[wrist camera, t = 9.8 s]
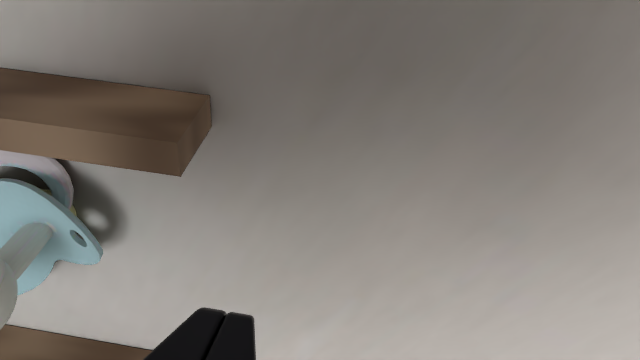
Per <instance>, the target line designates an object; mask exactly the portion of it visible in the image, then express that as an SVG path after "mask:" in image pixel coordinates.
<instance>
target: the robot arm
mask: <svg viewBox="0 0 640 360" xmlns="http://www.w3.org/2000/svg"><path fill="white" fill-rule="evenodd" d="M143 360H256V351H255V329H254V318H253V316H251V315H246V314H240V313H235V312H230V313H228V314H226V312H225V311H222V310H217V309H211V308H200V309H198V310H197V311H195V312H194V313H193V314H192V315H191V316H190V317H189V318H188V319H187V320H186V321H184V322H183V323H182V324H181V325H180V326H179V327H178V328H177V329H176V330H175V331H174V332H172V333H171V334H170V335H169V336H168V337H167V338H166V339H165V340H164V341H163V342H161V343H160V344H159V345H158V346H157V347H156V348H155V349H154V350H153V351H152V352H151V353H149V354H148V355H147V356H146V357H145V358H144V359H143Z"/></svg>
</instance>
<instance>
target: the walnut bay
mask: <svg viewBox="0 0 640 360" xmlns="http://www.w3.org/2000/svg"><path fill="white" fill-rule="evenodd" d="M211 127H212V125H211V109H210V95H203V94H195V93H188V92H180V91H172V90H165V89H157V88H149V87H142V86H134V85H127V84H119V83H111V82H104V81H96V80H88V79H81V78H73V77H65V76H58V75H50V74H42V73H35V72H27V71H20V70H12V69H4V68H0V150H2V151H9V152H16V153H23V154H30V155H36V156H43V157H50V158H57V159H64V160H71V161H77V162H84V163H91V164H98V165H105V166H112V167H119V168H125V169H132V170H139V171H146V172H153V173H160V174H167V175H173V176H180V177H181V175H182V174H183V172H184V170H185V169H186V167H187V165H188V164H189V162H190V161H191V159H192V157H193V156H194V154H195V153H196V151H197V149H198V148H199V146H200V145H201V143H202V141H203V140H204V138H205V136H206V135H207V133H208V132H209V130H210V128H211ZM151 352H152V351H151V350H145V349H139V348H134V347H128V346H123V345H117V344H111V343H106V342H100V341H94V340H89V339H83V338H78V337H72V336H66V335H61V334H55V333H49V332H44V331H38V330H32V329H27V328H21V327H16V326H10V325H4V326H3V327H2V329H1V330H0V360H143V359H144V358H145V357H146V356H147V355H148V354H149V353H151Z"/></svg>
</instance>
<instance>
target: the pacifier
mask: <svg viewBox="0 0 640 360" xmlns="http://www.w3.org/2000/svg"><path fill="white" fill-rule="evenodd" d="M0 166H14V167H18V168H22V169H26V170H28V171H30V172H32V173H34V174H36V175H37V176H39V177H40V178H41V179H42V180H44V181H45V183H46V184H47V185H48V187H49V188H50V190H51V191H50V190H45V189H39V188H37V187H36V186H34V185H31V184H29V183H27V182H24V181H21V180H17V179H10V178H1V179H0V330H1V329H2V327H3V326H4V325H5V324H6V322H7V321H8V319H9V318H10V316H11V314H12V312H13V310H14V307H15V304H16V300H17V295H20V294H23V293H25V292H27V291H29V290H32V289H34V288H35V287H36V286H38V285H39V284H41V283H42V282H43V281H44V280H45V279H46V278H47V276H48V275H49V273H50V272H51V270H52V268H53V266H54V263H55V261H57V260H64V261H68V262H72V263H77V264H84V265H92V264H96V263H98V262H99V261H100V259H101V257H102V254H103V249H102V247H101V246H100V244H99V243H98V241H97V240H96V238H95V237H94V236H93V234H92V233H91V232H90V231H89V230H88V228H87V227H86V226H85V225H84V224H83V223H82V222H81V221H80V220H79V219H78V218H77V217H76V216H77V215H76V210H75V208H74V206H73V205H72V203H73V191H74V189H73V186H72V182H71V179H70V176H69V175H68V173H67V172H66V170H65V169H64V167H63V166H62V165H61V164H60V163H59V162H58V161H57V160H55V159H54V158H50V157H43V156H36V155H30V154H23V153H16V152H9V151H2V150H0ZM75 231H76V232H77V233H79V234H80V235H81V236H82V237H83V239H84V240H85V241H84V240H82V239H81V238H80V237H79V236H78V235H77V234H76V233H75Z"/></svg>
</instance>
